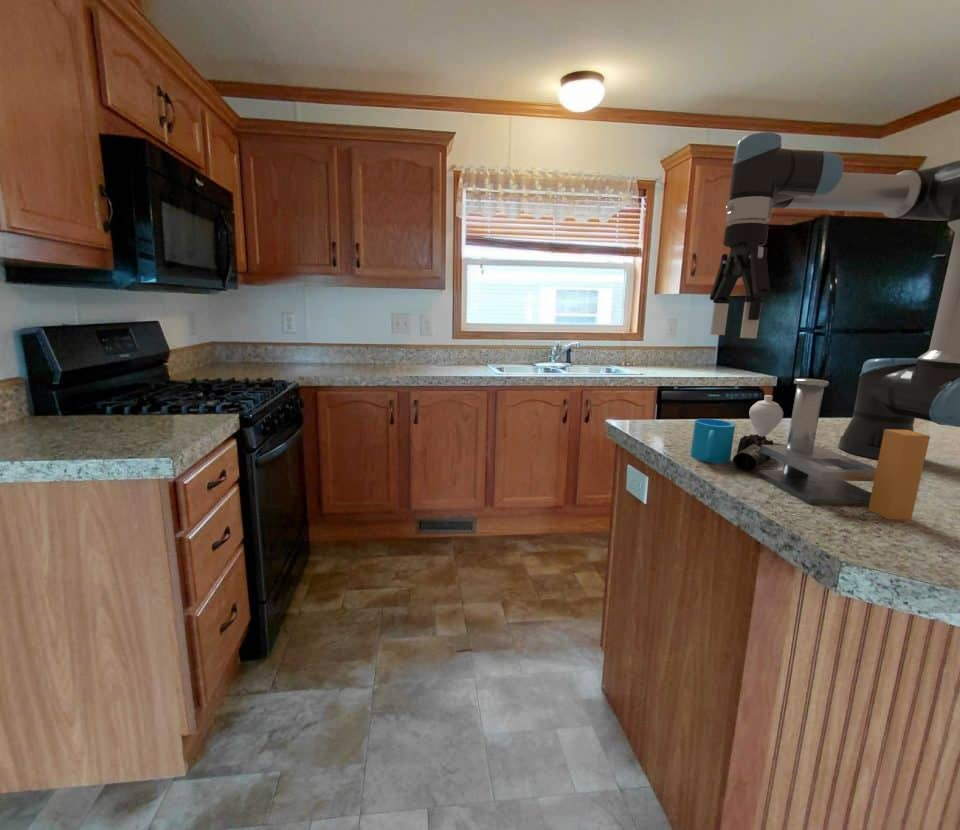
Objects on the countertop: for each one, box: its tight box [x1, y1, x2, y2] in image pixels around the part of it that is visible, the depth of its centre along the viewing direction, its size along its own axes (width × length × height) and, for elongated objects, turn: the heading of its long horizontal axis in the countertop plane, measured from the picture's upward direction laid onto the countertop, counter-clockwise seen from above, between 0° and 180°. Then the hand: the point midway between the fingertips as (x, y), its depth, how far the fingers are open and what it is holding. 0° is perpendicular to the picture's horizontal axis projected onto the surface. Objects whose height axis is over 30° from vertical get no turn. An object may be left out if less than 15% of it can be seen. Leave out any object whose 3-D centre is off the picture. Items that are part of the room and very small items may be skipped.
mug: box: [690, 418, 736, 464], centre depth 112 cm, size 12×8×8 cm
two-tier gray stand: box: [754, 377, 877, 506], centre depth 94 cm, size 14×18×20 cm
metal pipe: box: [732, 433, 775, 474], centre depth 111 cm, size 18×7×6 cm, turn 139°
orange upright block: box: [867, 429, 931, 520], centre depth 83 cm, size 4×4×14 cm
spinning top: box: [748, 394, 784, 437], centre depth 131 cm, size 8×8×12 cm
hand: (731, 336), depth 101 cm, fingers open, 13 cm apart
